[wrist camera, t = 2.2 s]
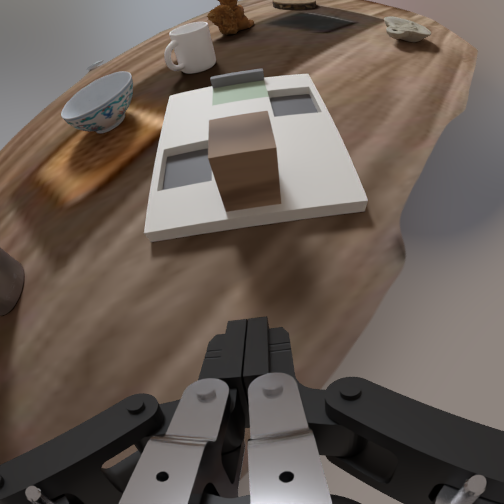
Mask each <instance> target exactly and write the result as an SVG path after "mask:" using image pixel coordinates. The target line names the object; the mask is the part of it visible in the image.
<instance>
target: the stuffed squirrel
mask: <svg viewBox="0 0 504 504" xmlns="http://www.w3.org/2000/svg"><path fill="white" fill-rule="evenodd" d="M218 1H219V2H220V5H219V6H217V7H215V8H214V9H213V10H211V11H210V13H209V14H208V16H207V17H208V18H209V20H210V21H212V22H213V23H214V25H216V26H218V28H219V30H220V31H221V33H222V34H225V35H228V34H236V33H237V32H238V31H240V30H244V29H247V28H250V27H251V26H253V24H254V21H253V20H248V18H247V17H246V16H245V15H244V9H243V7H242V6H241V5H238V6H237V5H236V4H237V1H238V0H218ZM207 21H208V20H207Z"/></svg>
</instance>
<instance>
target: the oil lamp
mask: <svg viewBox="0 0 504 504" xmlns="http://www.w3.org/2000/svg"><path fill="white" fill-rule="evenodd" d="M384 21H385V24H386V26H387V29H386V31H387V33H388V34H389V36H390V37H392V38H394V39H402V40H405V41H409V42H418V41H420V40H422V39H424V38H426V37H428V36H430V35H431V32H430V31H429V30H428V29H427V28H425V27H423V26H422V25H419V24H417V23H415V22H412V21H409V20H406V19H402V18H397V17H385V18H384Z"/></svg>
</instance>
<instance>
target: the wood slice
mask: <svg viewBox="0 0 504 504" xmlns="http://www.w3.org/2000/svg"><path fill="white" fill-rule="evenodd" d="M273 7H275V8H278V9H285V10H303V9H311V8H315V7H316V0H273Z"/></svg>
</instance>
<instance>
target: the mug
mask: <svg viewBox="0 0 504 504" xmlns="http://www.w3.org/2000/svg"><path fill="white" fill-rule="evenodd" d="M169 35H170V38H171V41H172V42H171V43H169V45H168V46H167V48H166V50H165V54H164V58H165V62H166V65H167V66H168V68H169V69H171V70H173V71H180V70H181V71H182V72H184V73H187V74H192V73H198V72H202V71H205V70H207V69H209V68H211V67H212V66H213V65H214V64H215V62H216V57H215V53H214V48H213V44H212V40H211V35H210V31H209V27H208V23H207V22H195V23H190V24H186V25H183V26H180V27H178V28H176V29H174V30H172V31H171V32H170V33H169ZM173 49H174V51H175V54H176V57H177V61H178V64H179V65H174V64H173V62H172V60H171V52H172V50H173Z"/></svg>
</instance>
